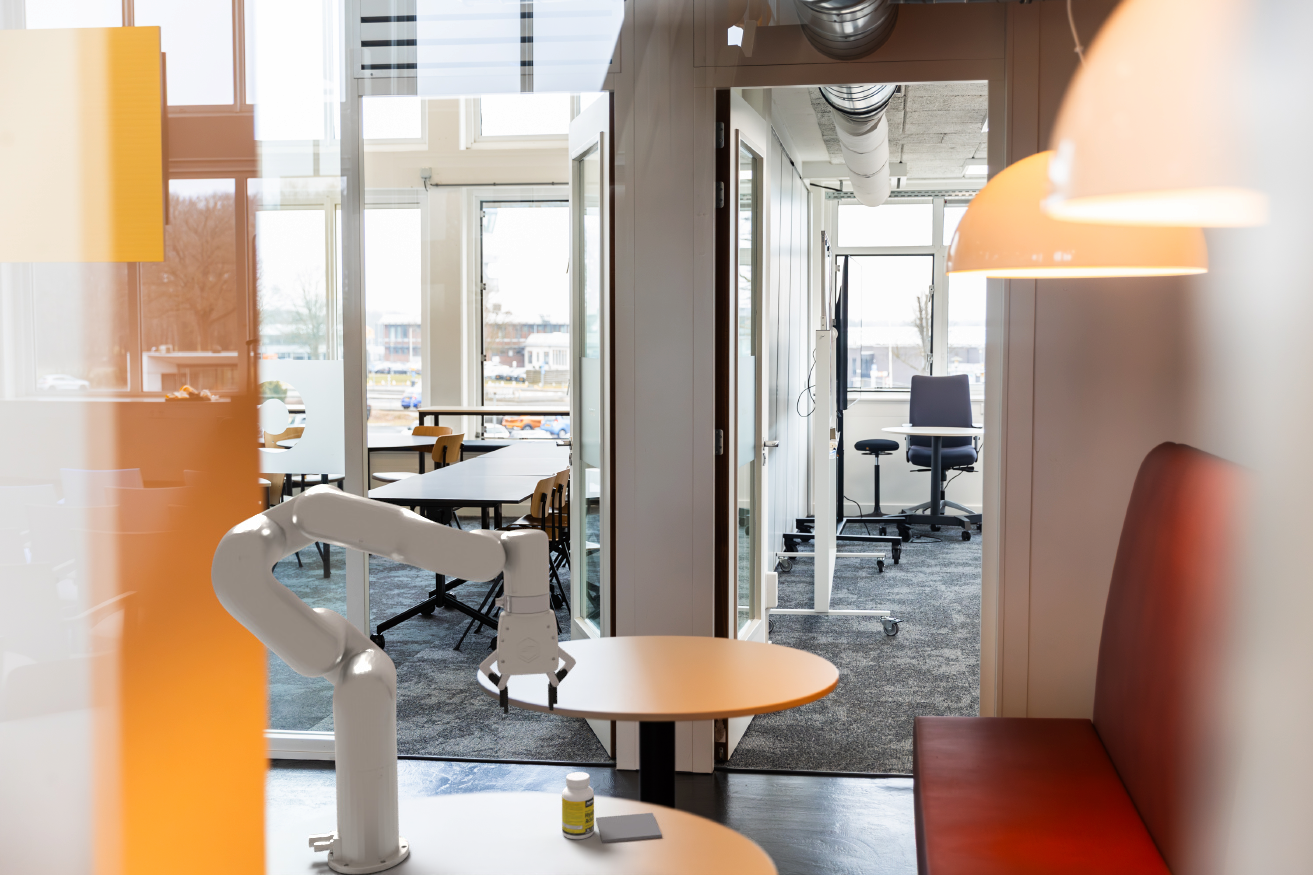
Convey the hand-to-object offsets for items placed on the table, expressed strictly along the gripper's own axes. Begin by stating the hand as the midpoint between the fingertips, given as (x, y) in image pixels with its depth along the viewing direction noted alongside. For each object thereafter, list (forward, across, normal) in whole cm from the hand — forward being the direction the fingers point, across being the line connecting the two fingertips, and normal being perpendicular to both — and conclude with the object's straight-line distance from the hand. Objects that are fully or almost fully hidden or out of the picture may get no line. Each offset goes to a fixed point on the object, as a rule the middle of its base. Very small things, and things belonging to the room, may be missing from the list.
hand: (528, 709), depth 161 cm
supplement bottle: (+22, +8, 0) cm, 23 cm away
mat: (+22, +17, 0) cm, 27 cm away
